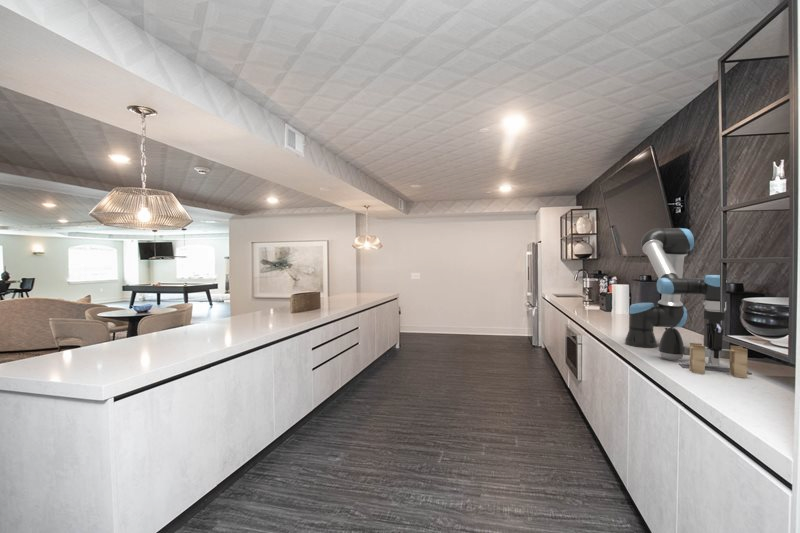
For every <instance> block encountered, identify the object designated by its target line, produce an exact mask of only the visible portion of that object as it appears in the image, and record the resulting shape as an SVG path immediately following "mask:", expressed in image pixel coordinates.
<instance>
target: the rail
mask: <svg viewBox="0 0 800 533" xmlns="http://www.w3.org/2000/svg"><path fill="white" fill-rule="evenodd" d="M710 349H712V348H708V347H705V358H708V357H711V350H710ZM683 354H684V355H683V356H689V357H690V345H684V346H683ZM720 359H727V360H728V359H729V360H730V348H729V349H728V348H727V349H726V348H722V350H720Z"/></svg>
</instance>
